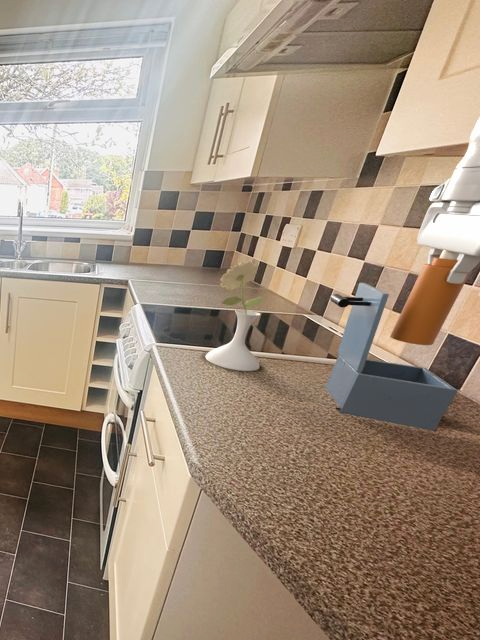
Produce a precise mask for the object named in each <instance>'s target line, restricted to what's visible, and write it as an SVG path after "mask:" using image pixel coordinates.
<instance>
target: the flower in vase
mask: <svg viewBox="0 0 480 640" xmlns="http://www.w3.org/2000/svg"><path fill="white" fill-rule="evenodd" d="M254 263H255V262H254V261H251V260H248V261H246V262H245V261H240V262H239V263H237V264H235V265H234V266H232V267H231V268H228V269H227V270H226V272H225V273H223V275H222V276H221V278H220V279H219V281H221V282H220V283H219V286H220V287H221V288H222V289H223V288H225V289H226V290H234V289H239V288H241V289H240V297H238V296H230V297H227V298H226V299H224V300H223V301H221V304H222V305H225V306H232V307H233V306H235V305H237V304H239V303H240V302H241V303H242V307H243V309H235V311H234V312H235V315H236V319H237V321H236V322H237V323H236V329H235V333H234V336H233V338H232V339H231V340H230V341H229V342H228V343H226V344H223V345H221V346H218V347H216V348H214V349H212V350H210V351H208V352H207V353H206V354H205V359H206V360H207V362H209V363H211V364H212V365H215V366H217V367H220V368H223V369H228V370H232V371H239V372H255V371H258V370H259V369H260V362H259V360H258V359H257V358H256V356H255V355H254V354H253V353H252V352H251V350H249V348H248V347H247V345H246V342H245V341H246V337H247V334H248V332H249V329H250V327H251V325H252V324H253V322H254V321H255V320H256V319H257V318H258V317H260V316H261V313H260V312H258V311H255V310H249V309H247V308H252V307H257V306H259V305H260V304H261V302H262V301H263V297H264V296H258V297H255V298H250V299H248V300H246V301H244V287H245V286H246V285H247V284H249V283H251V281H252V280H254V279H255V278H256V277H255V276H256V275H257V273H258V272H257V271H258V270H259V265H257V264H254Z"/></svg>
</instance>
